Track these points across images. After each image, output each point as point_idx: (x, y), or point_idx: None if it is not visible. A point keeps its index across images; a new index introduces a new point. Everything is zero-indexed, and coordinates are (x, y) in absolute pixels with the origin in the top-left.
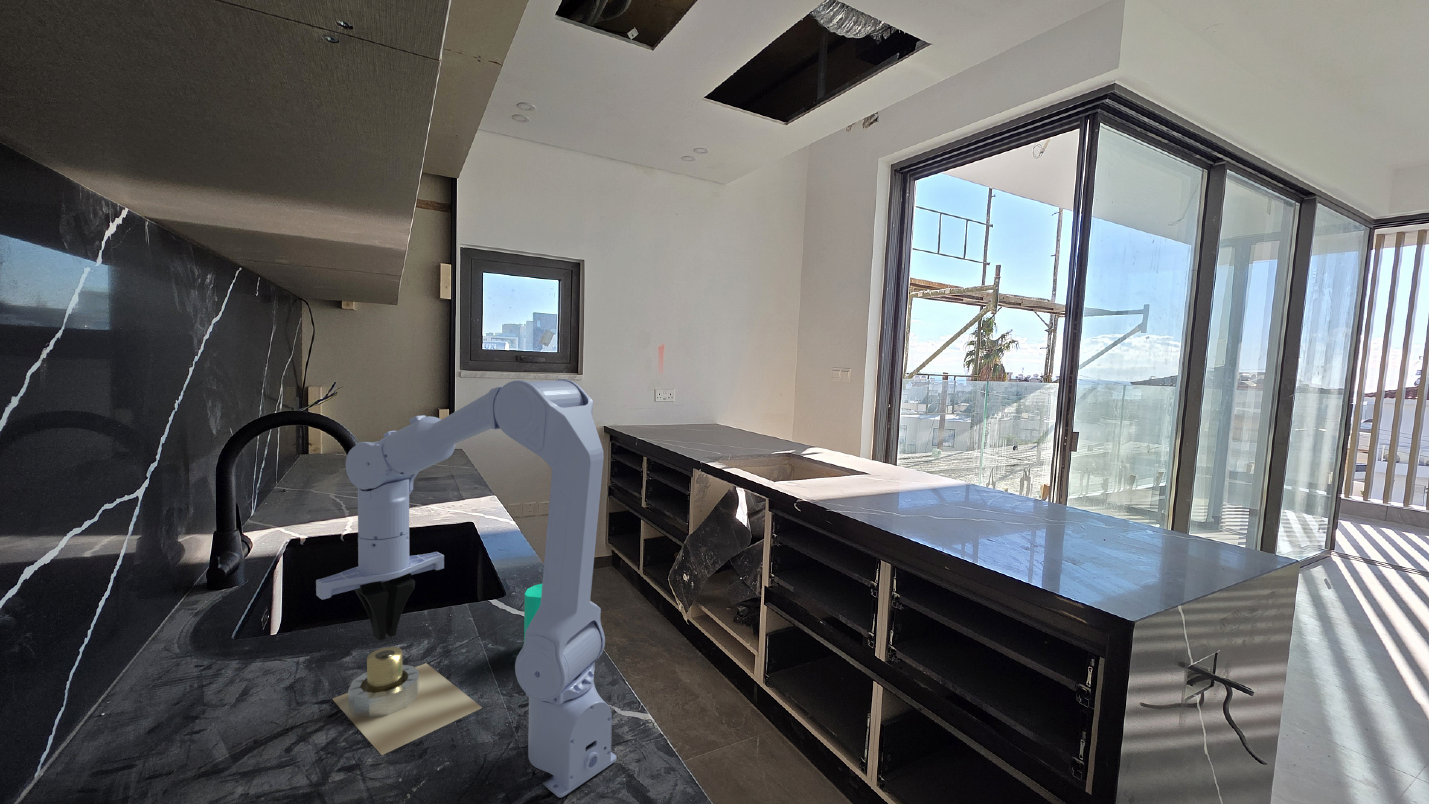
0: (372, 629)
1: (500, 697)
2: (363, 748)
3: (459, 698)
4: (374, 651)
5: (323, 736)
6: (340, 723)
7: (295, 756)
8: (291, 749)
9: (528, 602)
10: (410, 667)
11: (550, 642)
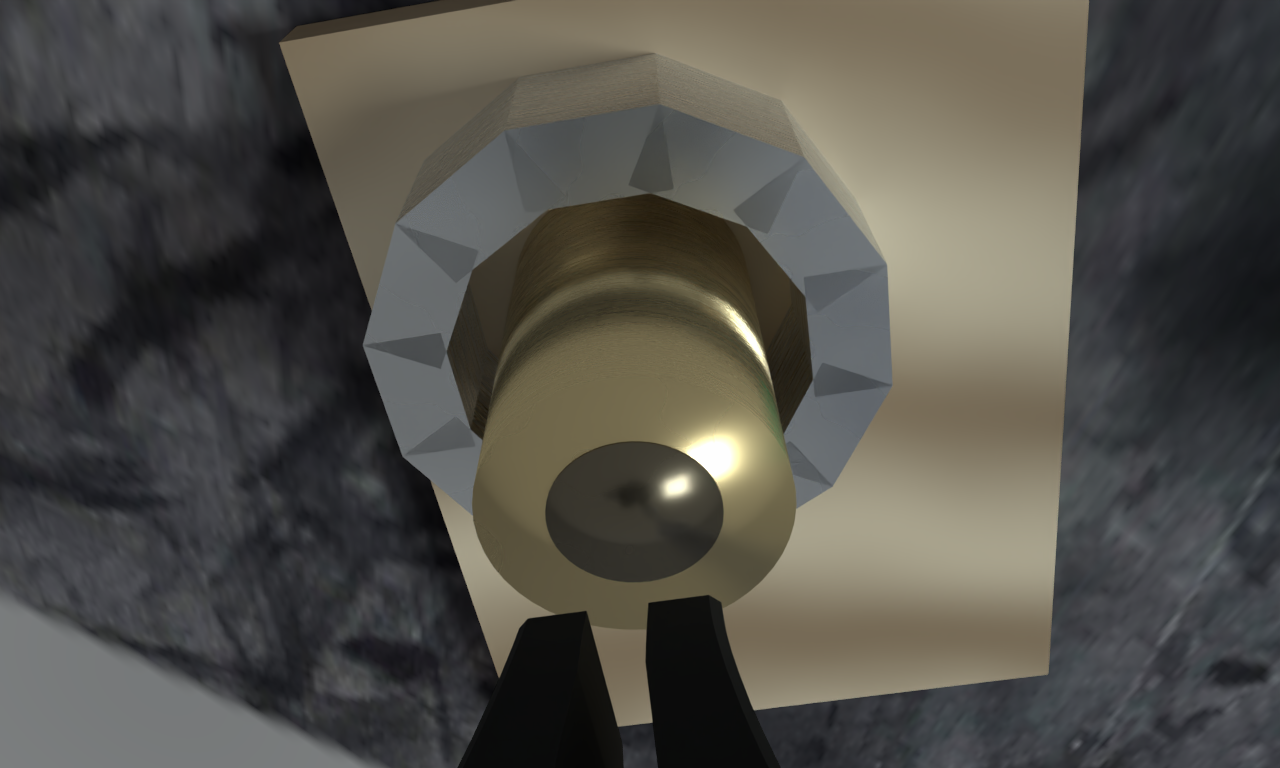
0: (502, 673)
1: (1204, 557)
2: None
3: (1006, 543)
4: (558, 392)
5: (265, 365)
6: (356, 289)
7: (141, 456)
8: (106, 386)
9: None
10: (864, 277)
11: None
